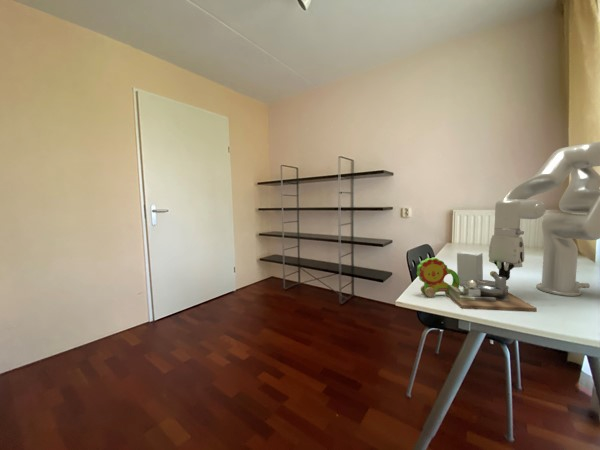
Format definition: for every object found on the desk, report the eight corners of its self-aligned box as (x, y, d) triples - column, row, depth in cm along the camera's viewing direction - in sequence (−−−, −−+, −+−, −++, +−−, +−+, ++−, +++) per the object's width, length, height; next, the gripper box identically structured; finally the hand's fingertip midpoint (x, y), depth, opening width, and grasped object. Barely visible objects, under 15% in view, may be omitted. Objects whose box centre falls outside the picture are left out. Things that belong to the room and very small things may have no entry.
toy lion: (453, 293, 103) (454, 256, 103) (461, 298, 98) (462, 259, 97) (414, 293, 104) (415, 256, 103) (420, 297, 99) (420, 258, 98)
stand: (507, 295, 99) (508, 283, 99) (536, 311, 85) (537, 298, 84) (444, 293, 103) (445, 282, 103) (461, 308, 89) (462, 295, 88)
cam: (518, 296, 93) (520, 276, 93) (491, 300, 90) (492, 279, 89) (487, 285, 105) (487, 268, 104) (462, 289, 102) (462, 271, 101)
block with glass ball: (474, 295, 96) (475, 278, 96) (480, 299, 92) (480, 282, 92) (463, 294, 97) (463, 278, 96) (468, 298, 93) (468, 281, 93)
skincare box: (483, 286, 110) (484, 253, 109) (476, 289, 107) (478, 254, 105) (462, 281, 117) (463, 250, 116) (455, 284, 114) (456, 251, 112)
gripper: (536, 234, 91) (533, 283, 92) (491, 230, 104) (489, 273, 106) (524, 235, 88) (521, 286, 89) (479, 231, 101) (477, 275, 103)
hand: (503, 279), depth 98 cm, fingers closed
